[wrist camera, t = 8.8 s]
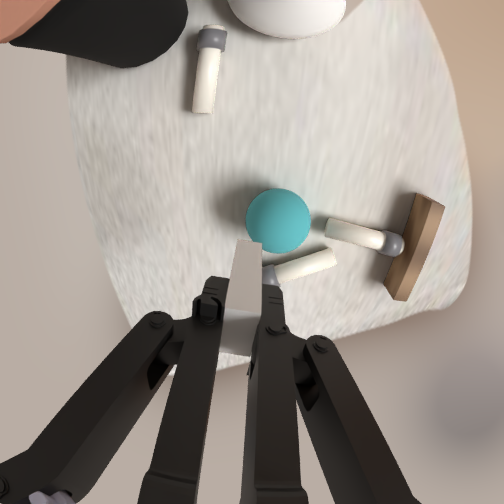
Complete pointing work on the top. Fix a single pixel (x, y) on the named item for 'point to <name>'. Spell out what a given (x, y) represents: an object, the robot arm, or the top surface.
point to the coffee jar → (95, 28)
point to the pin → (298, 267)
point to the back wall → (414, 247)
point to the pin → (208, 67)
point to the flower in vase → (289, 16)
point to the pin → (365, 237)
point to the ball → (278, 220)
